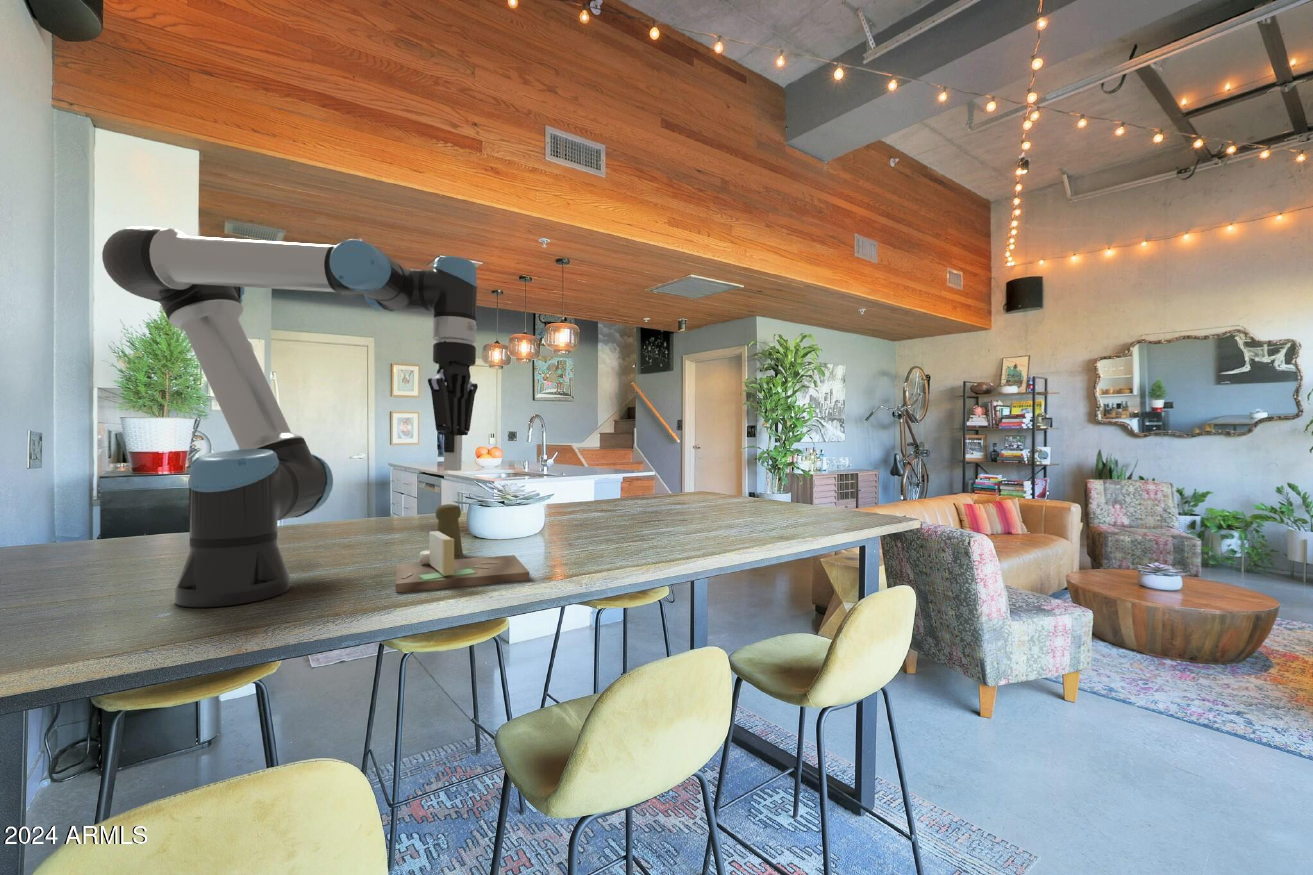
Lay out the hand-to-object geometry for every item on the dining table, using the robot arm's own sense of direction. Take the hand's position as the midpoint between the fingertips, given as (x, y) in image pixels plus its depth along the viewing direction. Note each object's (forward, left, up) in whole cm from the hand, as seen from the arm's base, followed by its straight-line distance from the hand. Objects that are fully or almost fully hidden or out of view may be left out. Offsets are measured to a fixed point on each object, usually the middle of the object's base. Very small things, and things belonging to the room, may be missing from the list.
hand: (452, 470), depth 109 cm
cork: (0, +19, -20) cm, 28 cm away
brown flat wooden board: (+1, -1, -20) cm, 20 cm away
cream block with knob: (-3, -1, -18) cm, 18 cm away
